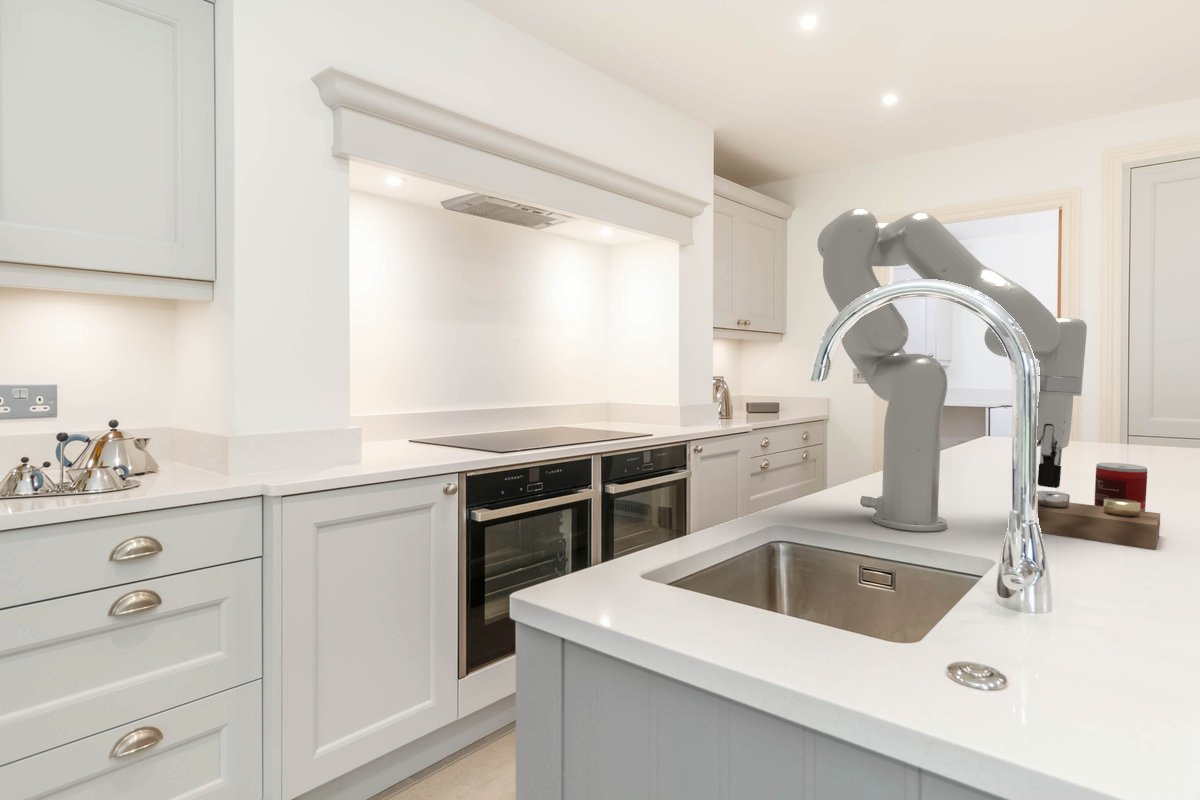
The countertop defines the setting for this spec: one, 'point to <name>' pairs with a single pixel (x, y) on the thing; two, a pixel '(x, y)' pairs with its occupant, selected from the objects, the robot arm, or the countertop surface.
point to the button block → (1100, 525)
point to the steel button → (1053, 499)
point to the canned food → (1120, 483)
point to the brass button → (1121, 507)
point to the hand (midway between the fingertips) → (1048, 486)
